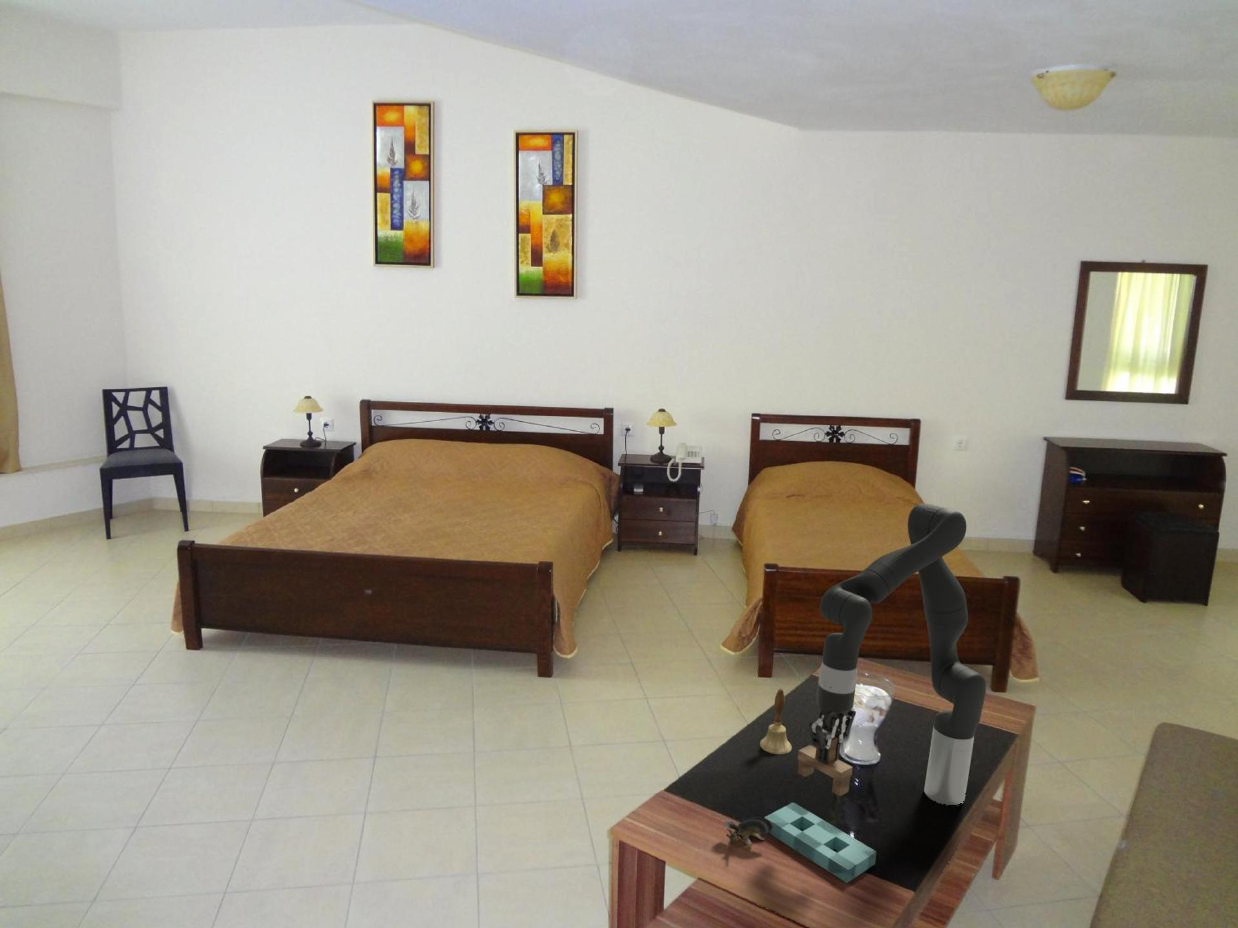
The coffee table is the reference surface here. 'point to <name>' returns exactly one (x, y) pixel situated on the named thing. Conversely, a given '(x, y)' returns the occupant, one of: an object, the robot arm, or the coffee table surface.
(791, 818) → the teal block with holes
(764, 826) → the brown animal figure
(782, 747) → the hand bell
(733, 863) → the coffee table surface
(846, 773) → the wooden forked block
